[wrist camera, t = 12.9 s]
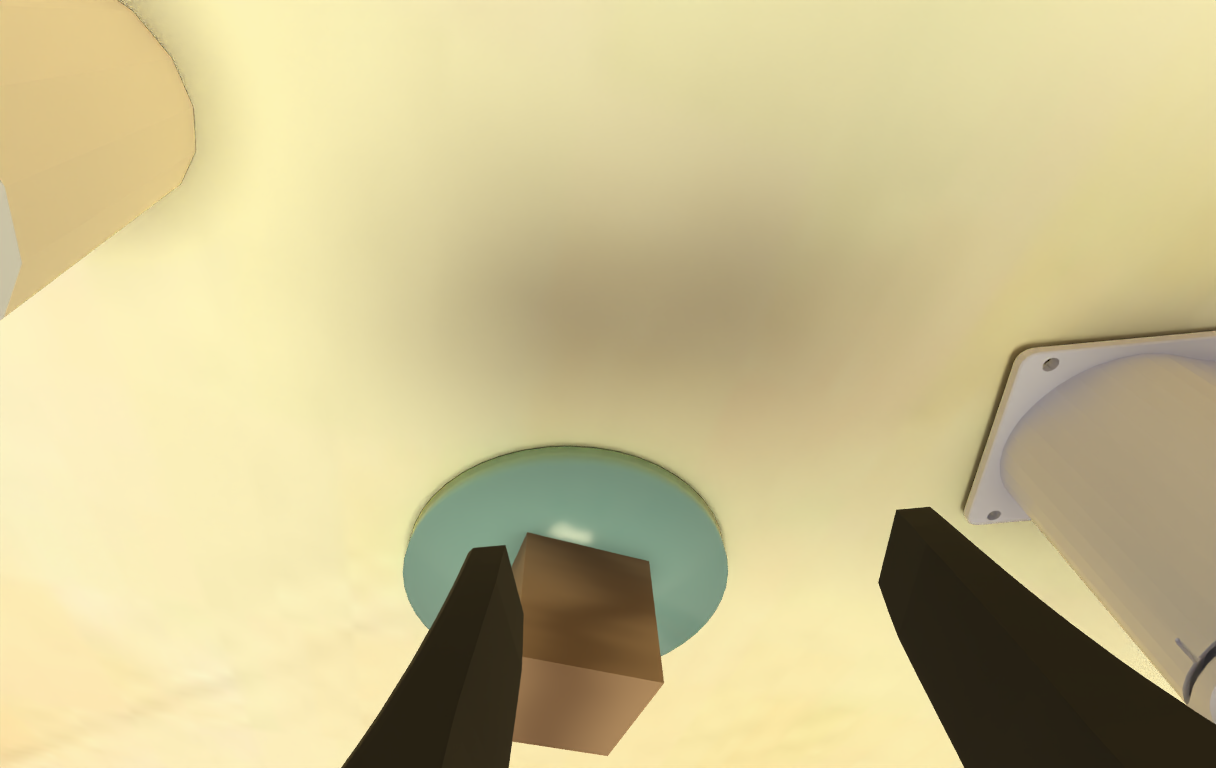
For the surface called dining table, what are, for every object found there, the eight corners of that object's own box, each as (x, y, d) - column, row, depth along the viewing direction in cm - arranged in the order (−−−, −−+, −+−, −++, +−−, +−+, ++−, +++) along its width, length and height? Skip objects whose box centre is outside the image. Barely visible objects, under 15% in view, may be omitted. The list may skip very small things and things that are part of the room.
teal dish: (726, 430, 22) (732, 448, 21) (720, 644, 29) (724, 664, 28) (367, 463, 22) (358, 482, 21) (450, 668, 29) (446, 688, 28)
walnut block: (649, 561, 24) (663, 682, 20) (602, 633, 26) (607, 755, 22) (527, 531, 23) (515, 655, 19) (491, 611, 25) (474, 735, 21)
